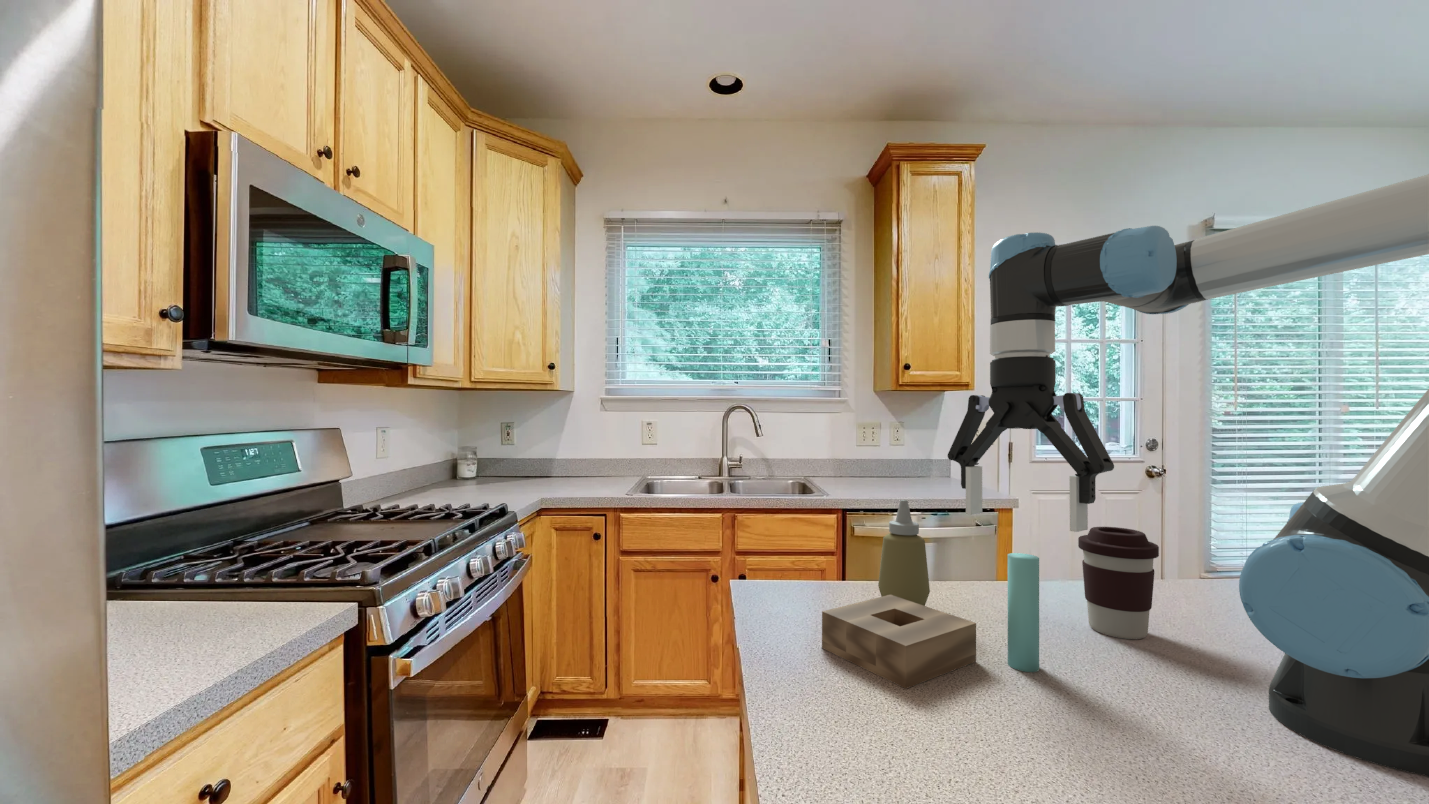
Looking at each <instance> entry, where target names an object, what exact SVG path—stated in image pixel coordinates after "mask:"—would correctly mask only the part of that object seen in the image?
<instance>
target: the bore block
mask: <svg viewBox="0 0 1429 804" xmlns="http://www.w3.org/2000/svg"><path fill="white" fill-rule="evenodd" d="M821 649H824V650H825V651H827V652H830V653H832V654H833V655H836V656H838V657H839V658H842V659H843V660H846V661H848V662H850V663H852V664H854V665H856V666H859V667H861V668H862V669H864V670H866V671H869V672H871V673H872V674H874V675H877V676H879V677H880V678H883V679H885V680H887V681H889V682H891V683H893V684H895V685H897V686H899V687H902V688H903V689H905V690H906V689H909V688H912V687H914V686H917V685H919V684H921V683H925V682H927V681H929V680H932V679H935V678H938V677H940V676H943V675H945V674H947V673H950V672H952V671H956V670H958V669H960V668H963V667H967V666H968V665H972V664H974V663H975V662H976V663H977V622H975V621H972V620H968V619H965V618H962V617H959V616H956V615H954V614H950V613H948V612H944V611H942V610H938V609H935V608H932V607H929V606H926V605H925V606H923V605H920V604H917V603H914V602H911V601H908V600H905V599H902V598H899V597H896V596H893V595H887V596H883V597H881V596H879V597H875V598H871V599H867V600H861V601H859V602H856V603H851V604H846V605H843V606H838V607H835V608H831V609H825V610H822V611H821Z"/></svg>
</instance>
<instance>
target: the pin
mask: <svg viewBox="0 0 1429 804" xmlns="http://www.w3.org/2000/svg"><path fill="white" fill-rule="evenodd" d="M1007 665H1008V666H1009V667H1010V668H1012V669H1014V670H1017V671H1021V672H1026V673H1036V672H1039V671H1040V557H1039V556H1037V555H1034V554H1029V553H1024V552H1023V553H1019V552H1014V553H1013V552H1011V553H1007Z"/></svg>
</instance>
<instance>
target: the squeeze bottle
mask: <svg viewBox="0 0 1429 804" xmlns="http://www.w3.org/2000/svg"><path fill="white" fill-rule="evenodd" d="M910 510H911V509H910V506H909V501H908V500H907V499H900V501H899V504H898V509H897V513H896V517H895V520H889V522H888V526H889V527H888V529H889V530H888V531H889V533H887V534H885V535H884V536H883V538H882V539H883V540H882V547H881V548H882V549H881V556H880V557H881V559H880V566H879V575H878V590H879V594H880V597H883V596H887V595H893V596H896V597H899V598H902V599H905V600H908V601H911V602H914V603H917V604H920V605H923V606H926V604H927V600H928V597H929V595H930V592H931V590H930V589H931V588H930V580H929V579H930V577H929V569H928V561H927V560H928V559H927V550H926V549H927V548H926V540H925V539H924V538H923V537H922V536H921V535H919V534H920V533H919V532H920V525H919V523H918V522H916V521H913V520H912V515H911V511H910Z"/></svg>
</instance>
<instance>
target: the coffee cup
mask: <svg viewBox="0 0 1429 804" xmlns="http://www.w3.org/2000/svg"><path fill="white" fill-rule="evenodd" d="M1077 541H1078V542H1077V544H1078V548H1079V549H1080V550H1082V552H1083V555H1082V556H1083V560H1081V561H1082V565H1081V566H1082V573H1083V575H1082V576H1083V586H1084V587H1083V588H1084V596H1085V597H1084V598H1085V600H1086V603H1087V606H1086V607H1087V616H1088V624H1089V627H1090V628H1091V629H1092V630H1093V631H1095V632H1098V633H1100V634H1103V635H1106V636H1109V637H1113V638H1119V639H1126V640H1140V639H1145V638H1146V637H1148V634H1149V633H1148V632H1149V621H1150V612H1151V609H1152V607H1153V594H1154V582H1155V569H1154V559H1157V558H1158V557H1159V556H1160V553H1159V551H1160V547H1159V545H1158V544H1156V543H1154V542H1152V541H1149V539H1148V537H1147V535H1146V534H1145V532H1143V531H1140V530H1136V529H1131V528H1124V527H1115V526H1093V527H1091V528H1090V529H1089V531H1088V532H1087V534H1084V535H1080V536H1078V539H1077Z"/></svg>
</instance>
